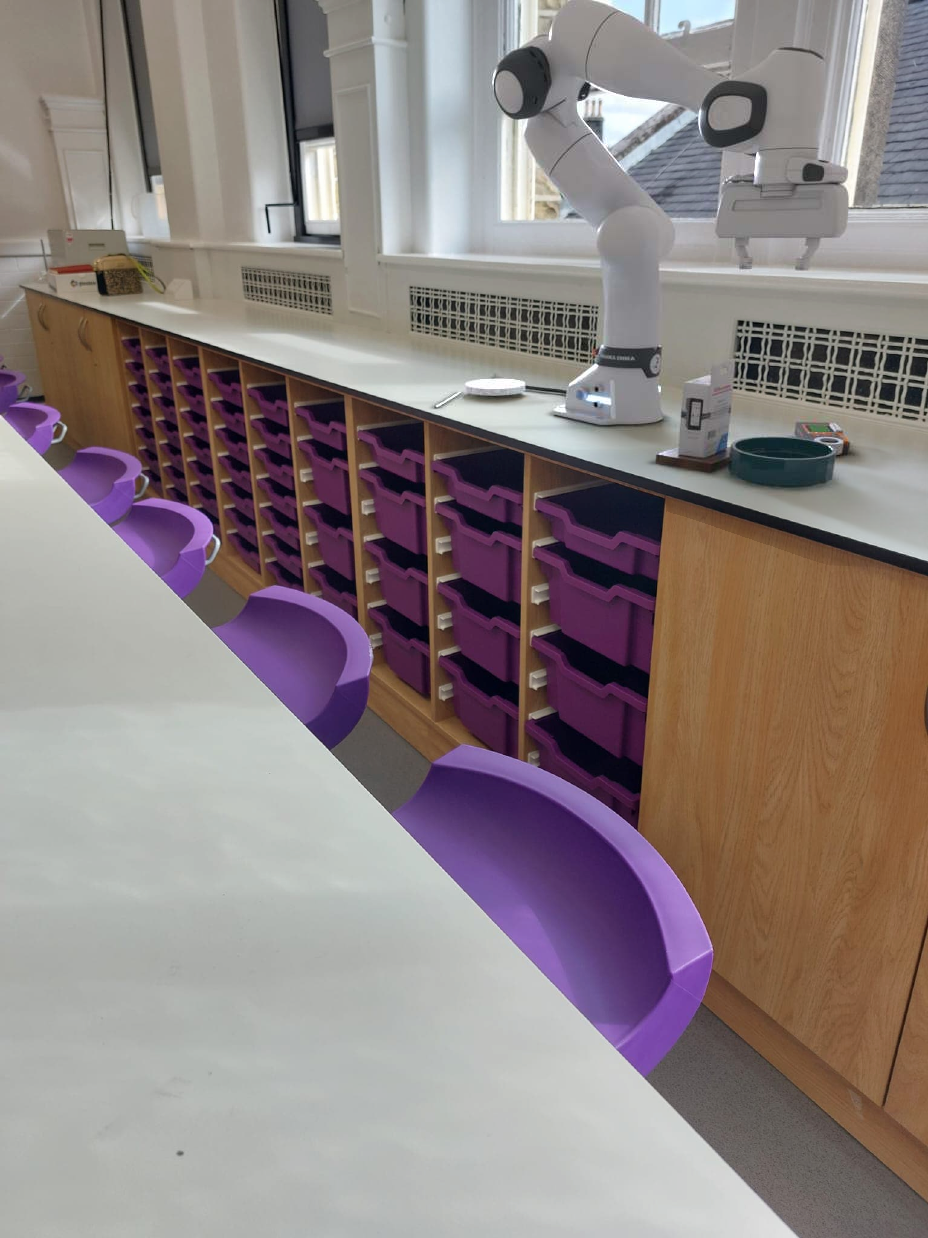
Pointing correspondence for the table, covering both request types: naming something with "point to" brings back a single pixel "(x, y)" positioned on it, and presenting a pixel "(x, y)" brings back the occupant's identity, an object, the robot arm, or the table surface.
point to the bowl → (782, 461)
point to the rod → (447, 400)
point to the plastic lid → (495, 387)
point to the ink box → (706, 412)
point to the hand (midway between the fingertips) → (772, 269)
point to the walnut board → (694, 460)
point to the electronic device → (823, 435)
